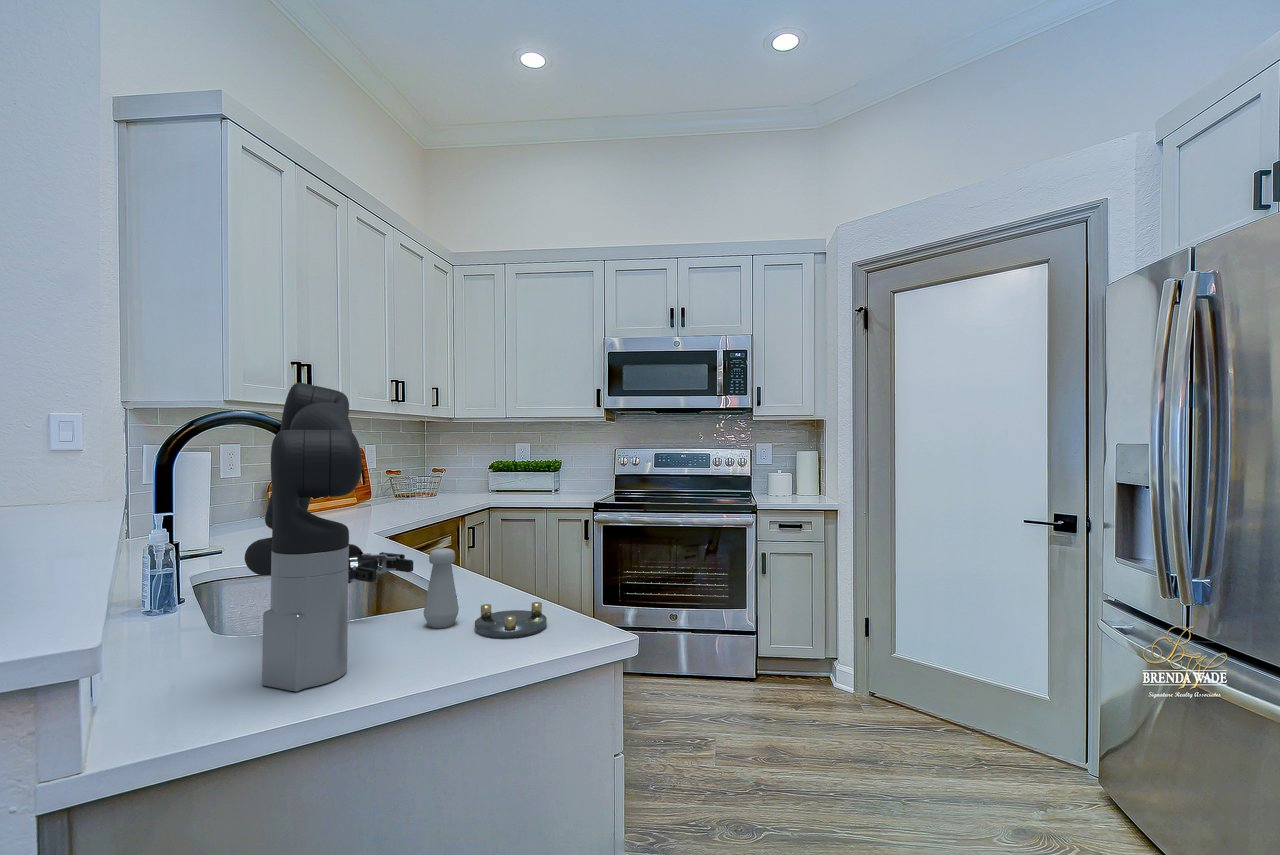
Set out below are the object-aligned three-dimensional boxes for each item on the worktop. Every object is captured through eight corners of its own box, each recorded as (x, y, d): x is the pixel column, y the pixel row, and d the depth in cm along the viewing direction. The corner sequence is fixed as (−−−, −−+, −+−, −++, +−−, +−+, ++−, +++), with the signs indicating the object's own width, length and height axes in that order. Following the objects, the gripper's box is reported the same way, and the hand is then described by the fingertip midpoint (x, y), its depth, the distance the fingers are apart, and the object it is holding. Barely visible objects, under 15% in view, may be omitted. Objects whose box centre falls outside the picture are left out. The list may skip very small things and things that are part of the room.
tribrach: (523, 642, 95) (523, 622, 95) (459, 633, 99) (460, 614, 99) (558, 621, 107) (558, 602, 107) (500, 614, 111) (500, 596, 111)
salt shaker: (436, 632, 100) (437, 553, 100) (416, 625, 104) (417, 549, 104) (465, 623, 105) (466, 548, 105) (445, 617, 108) (446, 545, 108)
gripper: (297, 548, 109) (361, 557, 103) (363, 536, 122) (423, 543, 116) (296, 590, 109) (360, 601, 103) (362, 573, 122) (423, 582, 116)
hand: (394, 570), depth 109 cm, fingers open, 8 cm apart
